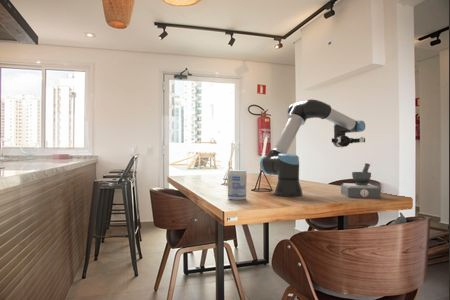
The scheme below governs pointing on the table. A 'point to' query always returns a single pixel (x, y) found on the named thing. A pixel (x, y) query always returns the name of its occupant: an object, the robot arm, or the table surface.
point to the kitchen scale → (360, 190)
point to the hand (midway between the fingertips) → (351, 139)
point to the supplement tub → (237, 184)
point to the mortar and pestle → (362, 176)
